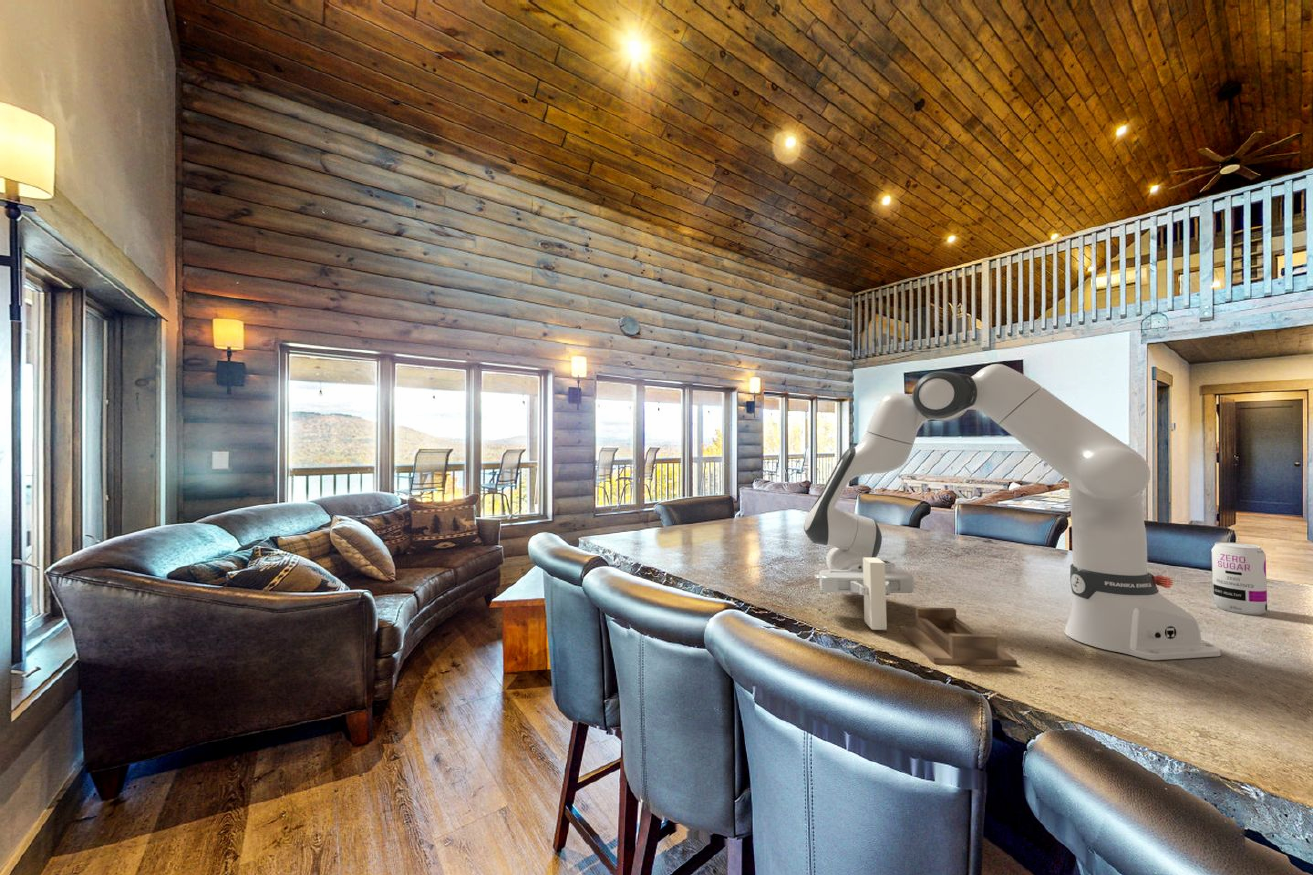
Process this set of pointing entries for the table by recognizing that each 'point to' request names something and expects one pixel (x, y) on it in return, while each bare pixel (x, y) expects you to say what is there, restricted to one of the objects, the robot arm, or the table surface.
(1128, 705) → the table surface
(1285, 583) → the table surface
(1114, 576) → the robot arm
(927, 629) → the track board
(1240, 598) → the supplement can
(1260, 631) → the table surface
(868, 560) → the cream rectangular block
